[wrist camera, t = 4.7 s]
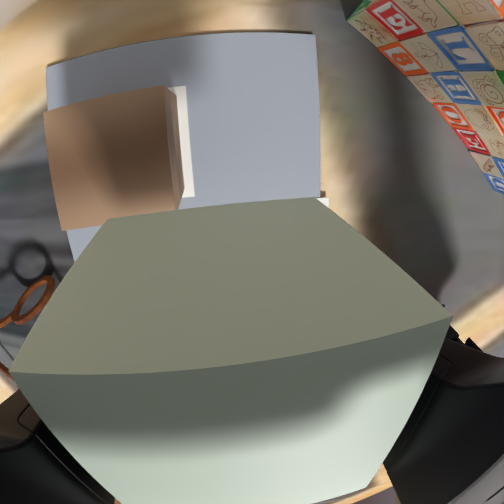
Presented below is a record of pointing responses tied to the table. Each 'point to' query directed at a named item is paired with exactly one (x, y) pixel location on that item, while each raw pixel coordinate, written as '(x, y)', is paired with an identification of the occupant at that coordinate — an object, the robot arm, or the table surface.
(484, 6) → the stack of blocks
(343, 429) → the sage block
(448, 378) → the robot arm
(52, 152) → the walnut block
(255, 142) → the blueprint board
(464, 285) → the table surface
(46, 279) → the glasses
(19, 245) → the table surface
